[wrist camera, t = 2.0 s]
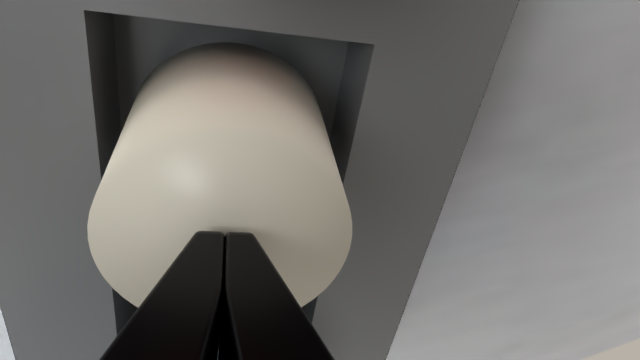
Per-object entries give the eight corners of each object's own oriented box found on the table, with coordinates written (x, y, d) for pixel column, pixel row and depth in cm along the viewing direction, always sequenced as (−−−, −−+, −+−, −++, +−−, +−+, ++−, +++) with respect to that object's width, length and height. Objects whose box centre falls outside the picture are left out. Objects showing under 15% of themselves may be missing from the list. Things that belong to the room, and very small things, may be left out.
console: (352, 325, 18) (370, 400, 16) (62, 326, 16) (30, 412, 14) (557, -365, 8) (686, -450, 6) (-111, -577, 6) (-325, -832, 4)
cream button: (308, 212, 12) (329, 328, 9) (135, 204, 11) (99, 328, 8) (337, 54, 10) (377, 141, 7) (126, 30, 9) (72, 117, 6)
